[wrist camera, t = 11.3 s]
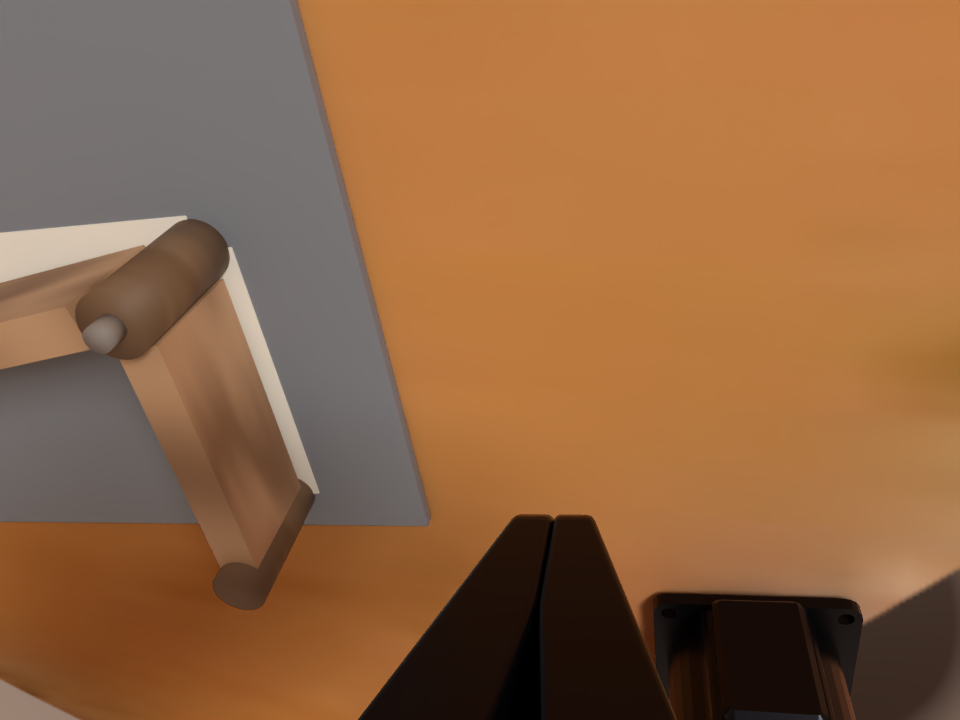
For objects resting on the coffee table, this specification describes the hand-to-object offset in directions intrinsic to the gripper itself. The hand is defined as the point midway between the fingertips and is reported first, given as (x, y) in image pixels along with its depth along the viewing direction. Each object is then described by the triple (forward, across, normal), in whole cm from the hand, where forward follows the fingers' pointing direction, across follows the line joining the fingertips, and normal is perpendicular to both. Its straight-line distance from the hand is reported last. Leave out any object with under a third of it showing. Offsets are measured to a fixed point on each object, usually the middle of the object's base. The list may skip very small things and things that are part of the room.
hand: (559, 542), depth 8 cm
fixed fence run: (+12, +11, +6) cm, 17 cm away
